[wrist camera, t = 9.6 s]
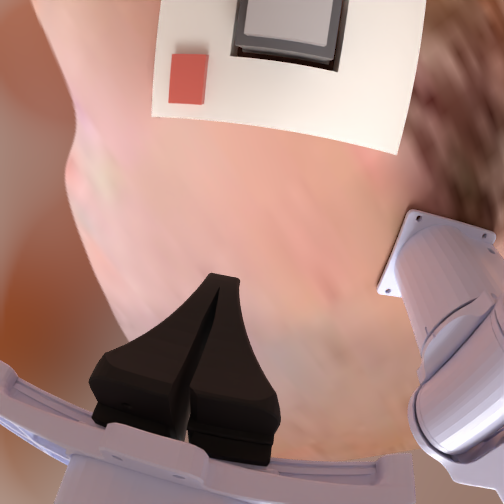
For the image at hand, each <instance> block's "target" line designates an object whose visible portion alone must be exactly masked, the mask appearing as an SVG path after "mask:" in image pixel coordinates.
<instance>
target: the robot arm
mask: <svg viewBox="0 0 504 504" xmlns="http://www.w3.org/2000/svg"><path fill="white" fill-rule="evenodd" d="M417 216H420V218H419V219H416V218H417ZM483 234H484V236H483ZM495 239H496V234H495V233H494V232H493V231H490V230H487V229H483V228H480V227H477V226H473V225H470V224H467V223H463V222H460V221H456V220H453V219H449V218H445V217H442V216H438V215H434V214H431V213H427V212H423V211H419V210H415V209H411V210H409V211H408V212H407V214H406V217H405V219H404V222H403V225H402V227H401V230H400V233H399V235H398V238H397V240H396V243H395V245H394V248H393V250H392V253H391V255H390V258H389V260H388V263H387V265H386V267H385V270H384V272H383V274H382V277H381V279H380V281H379V283H378V286H377V292H378V293H379V294H382V295H389V296H396V297H402V299H403V302H404V304H405V307H406V310H407V313H408V316H409V319H410V322H411V325H412V328H413V332H414V335H415V338H416V341H417V344H418V348H419V351H420V355H421V358H422V363H421V366H420V367H419V369H418V370H417V374H418V378H419V382H420V386H419V387H418V388H417V389H416V390H415V391H414V392H413V394H412V396H411V398H410V401H409V404H408V420H409V425H410V429H411V431H412V434H413V436H414V438H415V440H416V441H417V443H418V444H419V446H420V447H421V448H422V449H423V450H424V451H425V452H426V453H427V454H428V455H430V456H432V457H433V458H435V459H436V460H438V461H439V462H440V463H441V464H442V465H443V466H444V467H445V468H446V470H447V471H448V472H449V474H450V476H451V477H452V479H453V481H455V482H457V483H461V484H465V485H470V486H477V487H484V488H489V489H494V490H496V491H497V493H498V495H499V496H500V498H501V500H502V502H503V504H504V259H503V258H502V256H501V255H500V254H499V252H498V251H497V250H496V249H495V247H494V246H493V243H494V241H495ZM239 285H240V280H239V279H238V278H235V277H230V276H225V275H220V274H215V273H210V274H208V276H207V277H206V279H205V280H204V281H203V282H202V284H201V285H200V286H199V287H198V288H197V290H196V291H195V292H194V293H193V294H192V295H191V296H190V297H189V298H188V299H187V300H186V301H185V302H184V303H183V304H182V305H181V306H180V307H179V308H178V309H177V310H176V311H175V312H174V313H172V314H171V315H170V316H169V317H168V318H166V319H165V320H164V321H162V322H161V323H160V324H159V325H157V326H156V327H154V328H153V329H151V330H150V331H148V332H147V333H145V334H143V335H142V336H140V337H138V338H136V339H135V340H133V341H131V342H129V343H127V344H125V345H124V346H121V347H118V348H116V349H114V350H111V351H109V352H106V353H105V354H104V355H103V356H102V358H101V359H100V360H99V362H98V364H97V365H96V367H95V369H94V371H93V373H92V375H91V377H90V379H89V384H90V388H91V390H92V391H93V393H94V395H95V397H96V399H97V401H98V403H97V405H96V408H95V410H94V412H90V411H87V410H85V409H83V408H80V407H78V406H76V405H73V404H71V403H69V402H67V401H64V400H62V399H60V398H58V397H56V396H53V395H52V394H49V393H47V392H45V391H43V390H41V389H39V388H37V387H35V386H34V385H32V384H30V383H28V382H26V381H24V380H22V379H21V378H19V377H18V376H17V374H16V373H15V371H14V370H13V369H12V368H11V367H10V366H9V365H7V364H5V363H4V362H2V361H0V424H1V425H3V426H4V427H6V428H7V429H8V430H10V431H12V432H13V433H14V434H16V435H17V436H19V437H21V438H22V439H24V440H25V441H27V442H28V443H30V444H31V445H33V446H35V447H36V448H38V449H40V450H41V451H43V452H45V453H46V454H48V455H50V456H52V457H53V458H55V459H57V460H59V461H60V462H62V463H64V464H66V465H68V466H67V469H66V472H65V475H64V477H63V480H62V482H61V485H60V488H59V490H58V493H57V496H56V499H55V501H54V504H415V503H416V494H415V482H414V471H413V462H412V454H411V453H401V454H389V455H384V456H382V457H380V458H379V459H378V460H377V461H372V462H371V461H370V462H328V461H307V460H293V459H282V458H272V457H271V448H272V445H273V441H274V434H275V432H276V431H277V429H278V427H279V425H280V422H281V415H280V407H279V403H278V399H277V395H276V392H275V391H274V389H273V388H272V386H271V385H270V383H269V381H268V380H267V378H266V376H265V375H264V373H263V371H262V369H261V367H260V365H259V363H258V361H257V359H256V357H255V355H254V352H253V350H252V347H251V345H250V342H249V339H248V336H247V333H246V329H245V326H244V322H243V317H242V312H241V306H240V298H239ZM386 289H389V290H386ZM189 416H190V417H189ZM502 427H503V428H502ZM501 428H502V429H501ZM186 430H188V438H189V443H187V442H184V440H185V435H186Z"/></svg>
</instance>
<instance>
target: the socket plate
mask: <svg viewBox="0 0 504 504" xmlns="http://www.w3.org/2000/svg"><path fill="white" fill-rule="evenodd" d="M240 2H241V0H161V6H160V14H159V22H158V31H157V41H156V51H155V63H154V77H153V94H152V117H169V118H185V119H198V120H210V121H220V122H229V123H237V124H245V125H253V126H260V127H267V128H274V129H280V130H286V131H292V132H298V133H303V134H309V135H314V136H319V137H324V138H329V139H333V140H338V141H343V142H347V143H351V144H356V145H360V146H364V147H368V148H372V149H376V150H380V151H383V152H387V153H391V154H394V155H397V152H398V148H399V145H400V141H401V137H402V133H403V129H404V125H405V121H406V116H407V112H408V108H409V103H410V99H411V94H412V89H413V84H414V79H415V74H416V68H417V63H418V57H419V51H420V45H421V38H422V31H423V23H424V15H425V6H426V0H343V8H342V15H341V22H340V28H339V35H338V41H337V48H336V54H335V60H334V66H333V71H329V70H325V69H320V68H315V67H309V66H304V65H298V64H292V63H286V62H279V61H272V60H264V59H255V58H246V57H237V54H238V46H237V45H235V38H236V30H237V23H238V16H239V8H240Z"/></svg>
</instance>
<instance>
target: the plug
mask: <svg viewBox="0 0 504 504" xmlns="http://www.w3.org/2000/svg"><path fill="white" fill-rule="evenodd" d="M341 6H342V0H241V2H240V8H239V16H238V23H237V30H236V38H235V45H237V46H239V47H241V48H243V49H246V50H248V51H255V52H263V53H272V54H279V55H286V56H292V57H298V58H304V59H310V60H315V61H320V62H324V61H328V60H332V59H333V58H334V52H335V46H336V39H337V33H338V26H339V20H340V13H341Z"/></svg>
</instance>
